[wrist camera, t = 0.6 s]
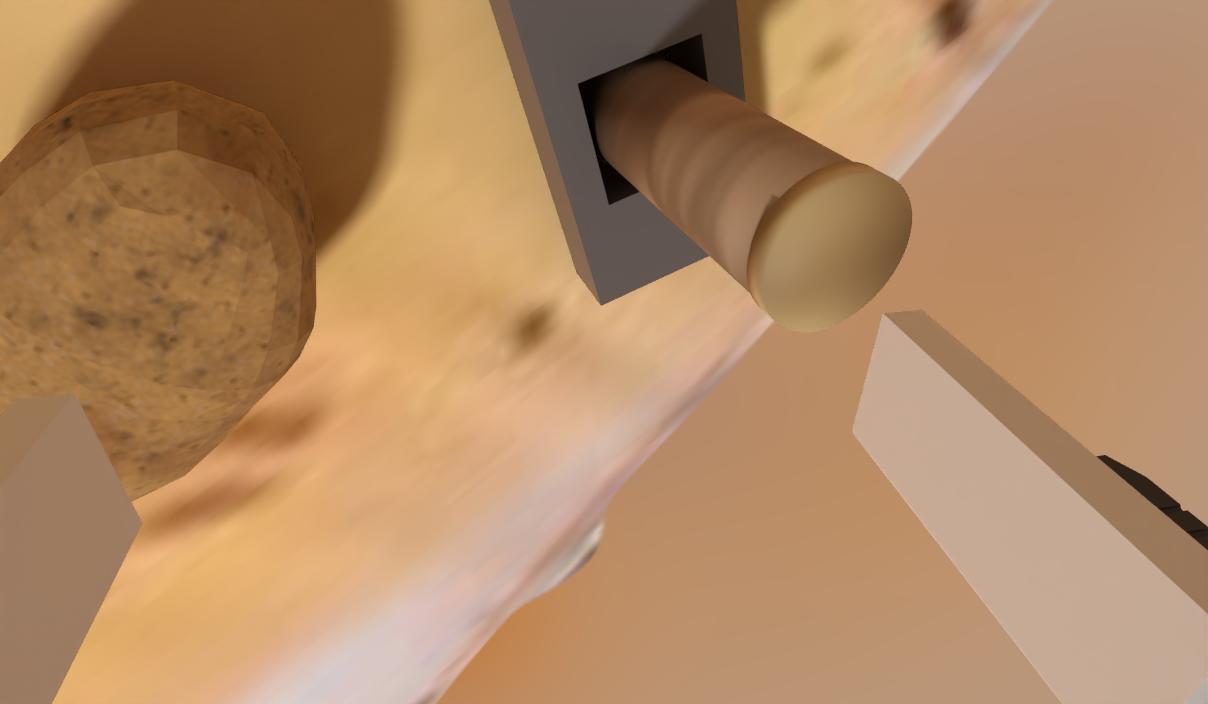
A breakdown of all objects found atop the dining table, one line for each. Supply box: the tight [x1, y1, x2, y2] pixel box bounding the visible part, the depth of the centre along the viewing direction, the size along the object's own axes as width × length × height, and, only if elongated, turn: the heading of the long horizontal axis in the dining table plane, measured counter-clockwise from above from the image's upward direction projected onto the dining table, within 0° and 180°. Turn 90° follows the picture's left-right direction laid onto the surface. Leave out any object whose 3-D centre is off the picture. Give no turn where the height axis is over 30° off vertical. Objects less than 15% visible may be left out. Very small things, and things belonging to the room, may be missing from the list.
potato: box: [0, 80, 316, 502], centre depth 21 cm, size 10×14×8 cm
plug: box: [578, 53, 912, 332], centre depth 23 cm, size 5×5×14 cm
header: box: [489, 0, 745, 306], centre depth 27 cm, size 14×8×3 cm, turn 14°
